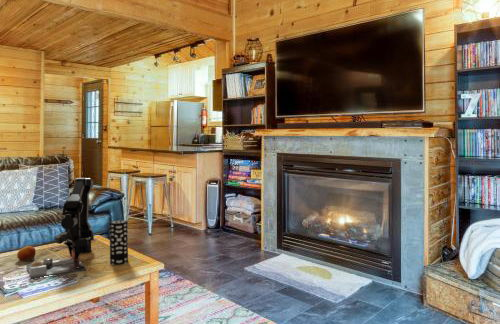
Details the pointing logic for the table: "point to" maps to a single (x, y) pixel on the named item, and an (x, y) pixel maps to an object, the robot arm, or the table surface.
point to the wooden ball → (37, 264)
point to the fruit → (26, 253)
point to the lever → (50, 262)
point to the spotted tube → (118, 242)
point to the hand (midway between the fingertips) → (74, 257)
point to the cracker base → (55, 269)
